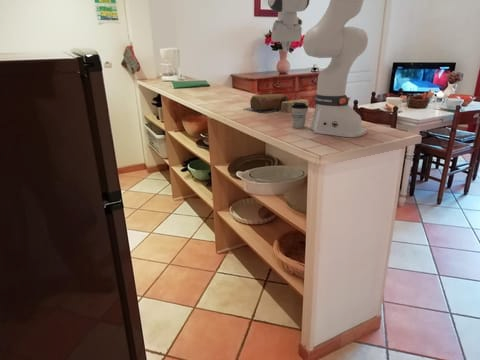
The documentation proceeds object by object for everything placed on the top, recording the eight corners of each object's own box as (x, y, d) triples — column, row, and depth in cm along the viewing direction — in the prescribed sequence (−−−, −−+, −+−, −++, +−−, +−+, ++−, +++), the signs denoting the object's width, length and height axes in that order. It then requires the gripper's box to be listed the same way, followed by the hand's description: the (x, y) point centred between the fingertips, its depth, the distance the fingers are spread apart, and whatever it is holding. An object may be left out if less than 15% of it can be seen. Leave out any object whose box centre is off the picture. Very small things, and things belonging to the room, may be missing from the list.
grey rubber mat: (289, 107, 189) (289, 107, 189) (266, 113, 175) (266, 112, 175) (267, 104, 199) (267, 103, 199) (243, 109, 185) (243, 108, 185)
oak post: (288, 113, 176) (307, 109, 185) (288, 103, 174) (308, 100, 183) (281, 111, 180) (300, 108, 189) (281, 102, 178) (301, 99, 187)
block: (249, 94, 180) (278, 92, 191) (248, 109, 183) (277, 106, 193) (261, 97, 172) (291, 94, 182) (261, 112, 174) (290, 109, 185)
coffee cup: (295, 124, 151) (296, 101, 148) (309, 126, 147) (311, 103, 143) (287, 127, 146) (288, 103, 143) (301, 130, 142) (303, 105, 138)
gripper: (279, 19, 155) (278, 52, 160) (304, 21, 169) (302, 51, 174) (268, 20, 159) (267, 52, 164) (293, 21, 173) (292, 51, 178)
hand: (285, 51), depth 169 cm, fingers closed
